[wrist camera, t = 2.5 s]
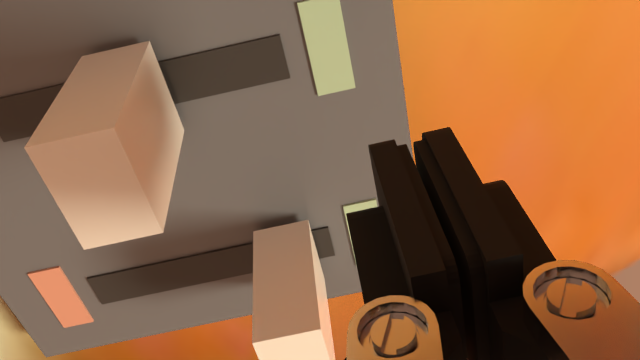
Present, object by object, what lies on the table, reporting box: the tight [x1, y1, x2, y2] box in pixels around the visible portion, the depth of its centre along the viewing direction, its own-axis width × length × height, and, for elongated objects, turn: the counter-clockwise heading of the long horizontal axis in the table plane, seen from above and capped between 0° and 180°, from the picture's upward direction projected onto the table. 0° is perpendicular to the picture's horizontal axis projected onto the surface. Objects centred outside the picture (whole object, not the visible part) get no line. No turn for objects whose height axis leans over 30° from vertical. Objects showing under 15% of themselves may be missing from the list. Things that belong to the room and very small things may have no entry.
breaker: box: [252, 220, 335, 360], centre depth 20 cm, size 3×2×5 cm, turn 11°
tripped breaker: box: [24, 41, 184, 250], centre depth 15 cm, size 3×2×5 cm, turn 11°
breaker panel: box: [0, 0, 413, 357], centre depth 18 cm, size 21×16×2 cm
